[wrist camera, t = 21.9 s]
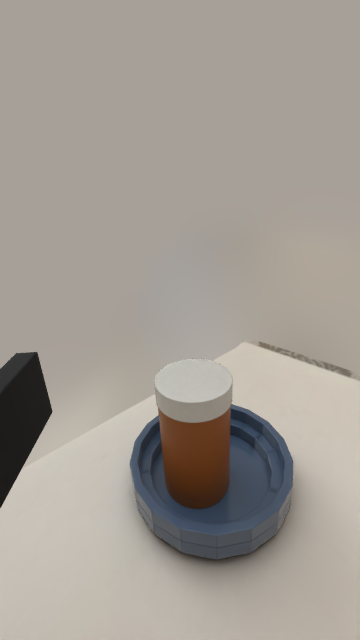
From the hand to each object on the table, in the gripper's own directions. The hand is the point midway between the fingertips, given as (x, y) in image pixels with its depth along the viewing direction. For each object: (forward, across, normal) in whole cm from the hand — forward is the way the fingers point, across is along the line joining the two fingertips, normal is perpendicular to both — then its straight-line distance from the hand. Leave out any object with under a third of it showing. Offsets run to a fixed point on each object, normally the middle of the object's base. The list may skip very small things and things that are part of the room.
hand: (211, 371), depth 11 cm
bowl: (+10, +2, -18) cm, 21 cm away
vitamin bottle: (+10, 0, -18) cm, 20 cm away
